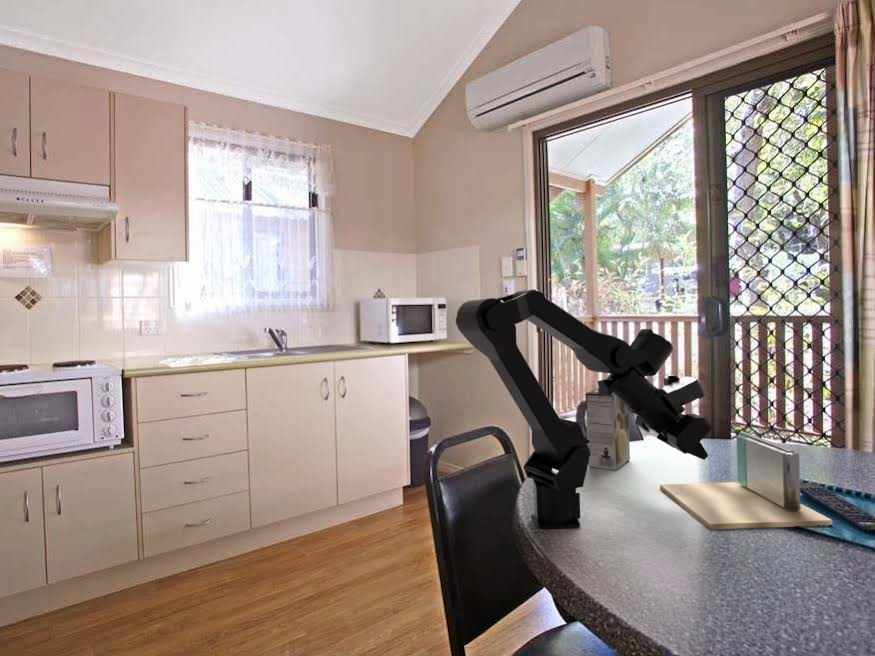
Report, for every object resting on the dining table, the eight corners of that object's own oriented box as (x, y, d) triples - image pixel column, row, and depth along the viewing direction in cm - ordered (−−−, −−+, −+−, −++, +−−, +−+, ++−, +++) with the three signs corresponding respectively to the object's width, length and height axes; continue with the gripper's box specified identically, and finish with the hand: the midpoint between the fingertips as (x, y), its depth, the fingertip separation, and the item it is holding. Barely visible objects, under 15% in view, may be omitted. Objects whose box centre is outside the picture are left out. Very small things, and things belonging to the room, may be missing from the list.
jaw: (789, 510, 79) (787, 455, 79) (737, 482, 92) (736, 435, 92) (803, 510, 79) (801, 454, 79) (749, 482, 92) (748, 435, 92)
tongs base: (710, 529, 76) (708, 464, 76) (658, 487, 95) (656, 435, 95) (832, 525, 76) (830, 460, 75) (755, 484, 95) (754, 431, 94)
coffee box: (602, 456, 117) (599, 386, 116) (630, 460, 113) (628, 388, 113) (587, 466, 109) (584, 392, 109) (617, 471, 106) (614, 394, 105)
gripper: (698, 366, 79) (772, 435, 79) (650, 357, 97) (710, 413, 97) (647, 418, 79) (721, 487, 79) (610, 399, 98) (669, 455, 98)
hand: (705, 457), depth 88 cm, fingers closed
